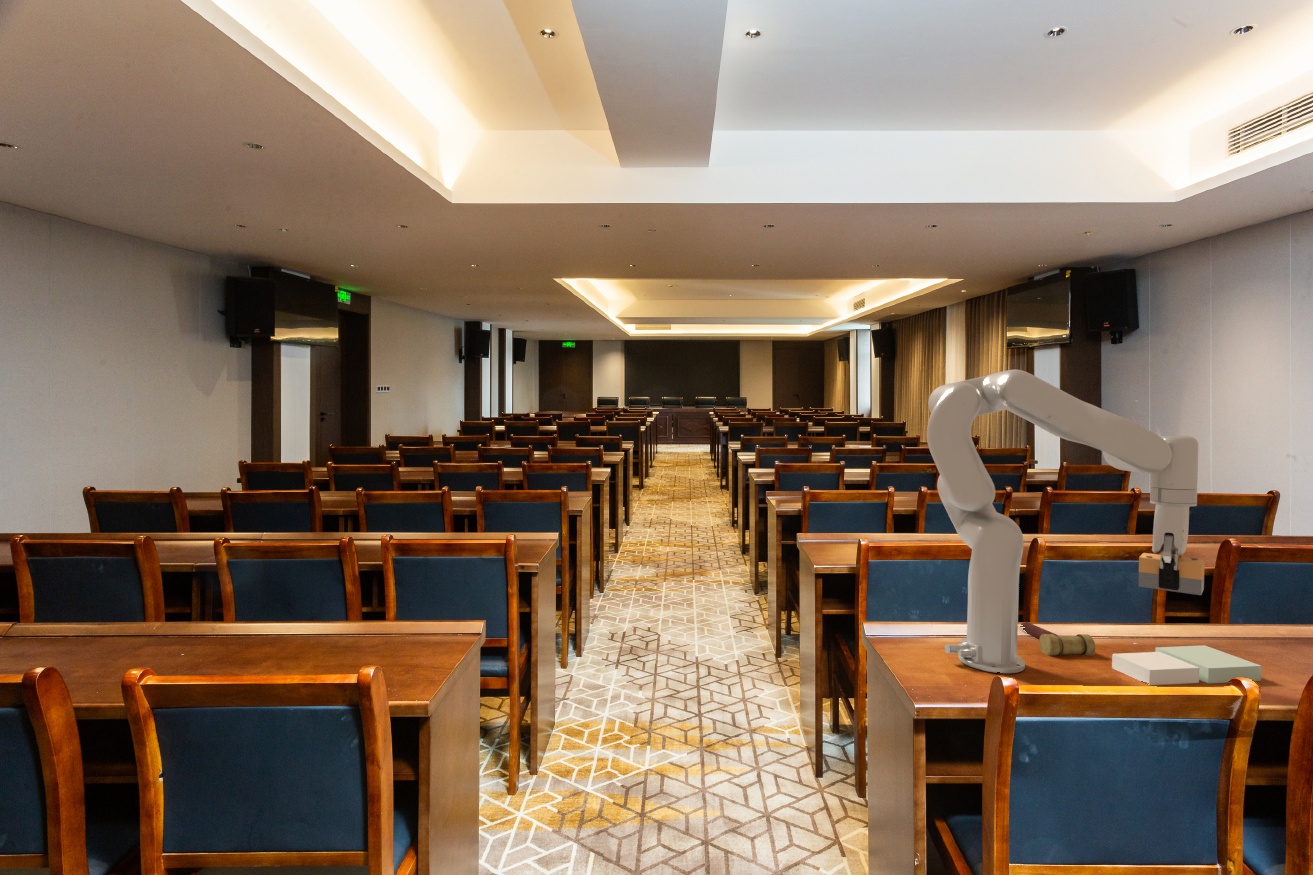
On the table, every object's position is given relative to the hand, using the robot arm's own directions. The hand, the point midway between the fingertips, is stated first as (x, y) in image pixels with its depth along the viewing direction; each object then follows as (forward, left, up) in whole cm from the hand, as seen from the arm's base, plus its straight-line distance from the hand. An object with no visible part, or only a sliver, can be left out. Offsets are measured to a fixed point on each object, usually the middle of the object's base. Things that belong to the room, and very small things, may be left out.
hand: (1170, 584), depth 137 cm
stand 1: (-3, 0, -18) cm, 19 cm away
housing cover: (0, 0, +2) cm, 2 cm away
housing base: (0, 0, -1) cm, 1 cm away
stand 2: (+10, +1, -18) cm, 21 cm away
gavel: (-11, +22, -19) cm, 31 cm away
